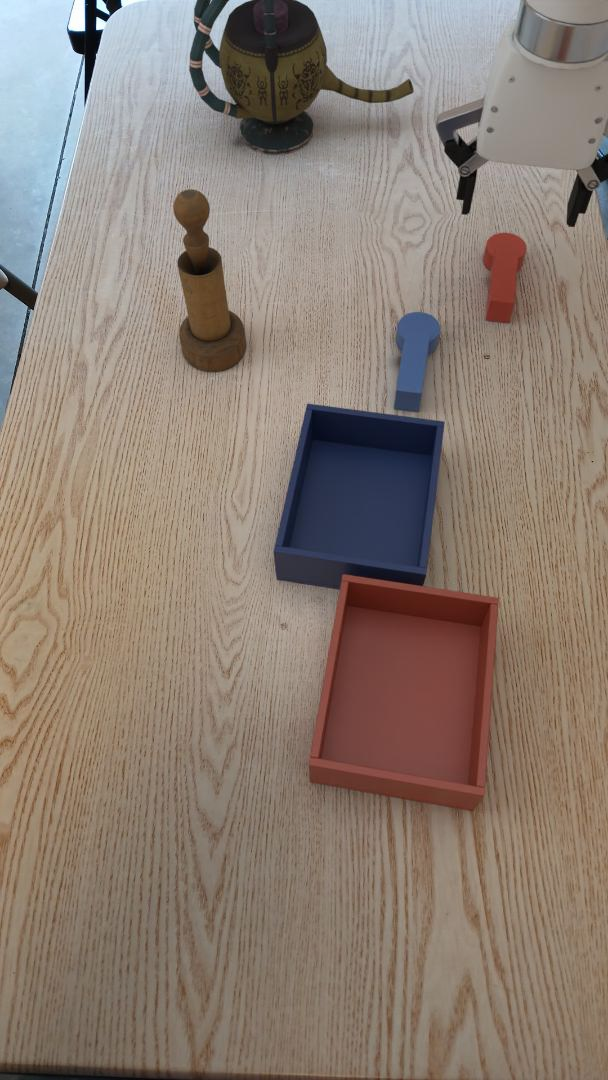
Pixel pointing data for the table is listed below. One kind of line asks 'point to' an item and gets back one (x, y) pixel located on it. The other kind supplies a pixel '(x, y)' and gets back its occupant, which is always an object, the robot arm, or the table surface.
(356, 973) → the table surface
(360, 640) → the red bin
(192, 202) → the mortar and pestle
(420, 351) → the blue spoon
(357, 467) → the blue bin
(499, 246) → the red spoon
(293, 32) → the teapot
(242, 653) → the table surface
